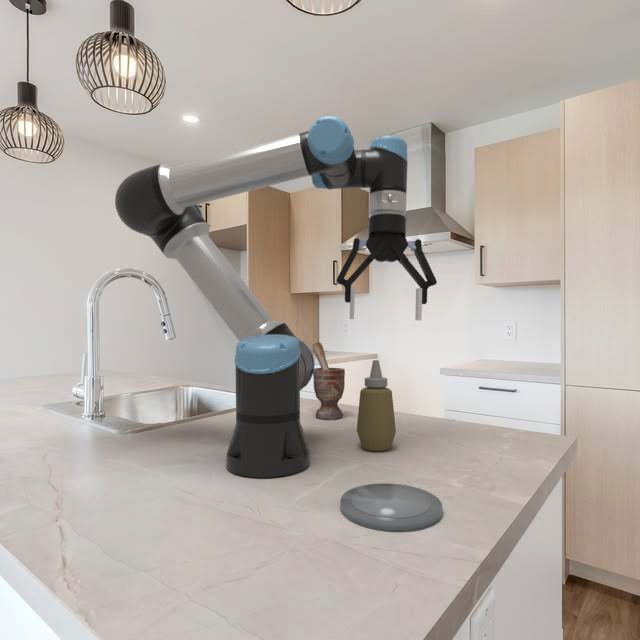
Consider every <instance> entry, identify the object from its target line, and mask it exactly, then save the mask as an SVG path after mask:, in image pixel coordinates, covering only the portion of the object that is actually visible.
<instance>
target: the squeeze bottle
mask: <svg viewBox="0 0 640 640" xmlns="http://www.w3.org/2000/svg"><path fill="white" fill-rule="evenodd" d="M380 364H381V363H380V361H379V360H375V359H374V360H372V365H371V368H370V369H371V370H370V372H369V373H370V374H369V376H368V377H364V387H363V388H362V389H360V391H359V399H358V401H359V403H358V411H357V412H358V414H357V425H356V433H357V437H358V439H359V442H360V445H361V447H362V449H364V450H366V451H371V452H385V451H389V450H390V449H391V448H392V445H393V441H394V439H395V435H396V433H397V428H396V420H395V418H396V417H395V409H394V398H393V391H392V389H390V388H388V377H383V373H382V370H381V365H380Z"/></svg>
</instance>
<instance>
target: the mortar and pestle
mask: <svg viewBox="0 0 640 640" xmlns="http://www.w3.org/2000/svg"><path fill="white" fill-rule="evenodd" d="M312 350H313V352H314V356H315V357H316V359H317V362H318V363H319V366H320V367H314V372H313V375H312V377H313V378H312V379H313V391H314V395H315V397H316V399H317V400H318V401H319V402H320V407H319V408H318V409H317V410H316V412H315V418H317V419H321V420H330V421H335V420H337V419H341V418H342V417H344V415H343V412H342V410H341V408H340V407H339V406H338V403H339V401H340V400H341V399H342V398H343V395H344V391H345V387H346V386H345V385H346V384H345V377H346V376H345V373H346V370H345V368H341V367H329V365H328V362H327V358H326V354H325V350H324V347H323V344H322V343H321V342H315V343H313V344H312ZM334 419H335V420H334Z"/></svg>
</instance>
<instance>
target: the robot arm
mask: <svg viewBox="0 0 640 640" xmlns="http://www.w3.org/2000/svg"><path fill="white" fill-rule="evenodd" d="M309 176H311V181H312V185H313V186H314V188H316V189H320V190H321V189H323V190H324V189H325V190H330V191H331V190H338V189H339V190H341V189H368V188H369V202H368V204H369V205H368V214H369V215H370V217H369V218H368V236H367V237H368V238H367V240H363V239H359V237H355V238H354V239H353V241H352V250H351V251H350V253H349V255H348V257H347V259H346V261H345V262H344V264H343V266H342V267H341V268H342V269H341V270H340V272H339V274H338V276H337V277H336V283H337V284H339V285H341V286H343V287H344V302H345V303H348V304H349V319H350V320H354V319H355V292H356V291H355V289H356V288H355V286H352V285H353V284H354V283H355V281H357V279H358V278H359V277H360V276H361V274H363V272H365V271H366V269H367V268H368V267H369V266H370V264H371V263H373V261H376V262H378V263H382V262H388V263H394V262H396V261H398V263H399V264H400V265H401V266H402V267H403V268H404V269H405V271H406V272H407V273H408V274H409V276H410V277H411V278H412V279H413V281H414V282H415V283H416V284H417V285H418V286H419V287H418V288H415V321H422V320H423V319H422V316H423V315H422V313H423V311H422V310H423V307H422V306H423V305H427V303H428V288H430V287H433V286H436V285H437V283H438V282H437V279H436V276H435V275H434V272H433V270H432V268H431V266H430V263H429V262H428V259H427V258H426V256H425V253H424V251H423V246H422V245H423V243H422V240H421V239H420V238H417V239H416V240H407V238H406V235H407V234H406V232H407V217H406V216H405V215H406V214H407V189H408V184H407V183H408V182H407V181H408V144H407V142H406V141H405V140H404V138H402V137H400V136H396V135H383V136H377V137H376V138H374V139H373V140H372V141H371V142H370V147H369V148H368V149H358V150H357V149H356V150H355V140H354V137H353V135H352V132H351V130H350V128H349V126H348V124H347V123H346V122H345V120H343V119H342V118H341V117H338V116H335V115H325V116H321V117H320V118H318V119H317V120H315V122H314V123H312V125H311V126H310V128H309V129H308V130H307V131H304V132H300V133H296V134H292V135H289V136H285V137H280V138H278V139H273V140H270V141H266V142H263V143H259V144H255V145H252V146H251V145H250V146H248V147H243V148H241V149H237V150H232V151H229V152H224V153H222V154H217V155H213V156H210V157H207V158H203V159H198V160H196V161H191V162H187V163H184V164H180V165H176V166H170V165H169V164H167V163H161V164H157V165H153V166H149V167H146V168H144V169H140V170H138V171H136V172H134V173H131V174H130V175H128V176H127V177H125V179H123V181H122V182H121V183H119V186H118V187H117V190H116V193H115V199H114V201H115V203H114V205H115V209H116V212H117V216H118V217H119V219H120V220H121V221H122V222H123V223H124V225H125V226H126V227H127V228H129V229H130V230H132V231H134V232H136V233H139V234H141V235H144V236H147V237H149V238H150V239H152V241H153V242H154V243H155V245H156V246H157V248H158V249H159V250H160V251H161V252H162V254H163V255H164V257H166V258H167V259H173V260H176V261H177V262H178V263H179V265H180V266H181V267H182V269H183V270H184V271H185V272H186V273H187V275H188V276H189V278H190V279H191V280H192V281H193V282H194V284H195V286H196V287H197V288H198V289H199V291H201V293H202V295H204V297H205V298H206V300H207V301H208V302H209V304H210V305H211V306H212V307H213V309H214V310H215V311H216V313H217V314H218V315H219V316H220V318H221V319H222V320H223V322H224V323H225V325H226V326H227V327H228V328H229V330H230V331H231V332H232V333H233V335H234V336H235V337H236V339H237V340H238V342H237V344H236V348H235V356H234V364H235V425H234V430H233V433H232V434H231V435H232V436H231V439H230V441H229V445H228V448H227V451H226V461H225V462H226V464H225V465H226V469H227V470H228V471H229V472H231V473H233V474H235V475H238V476H242V477H246V478H247V477H248V478H277V477H284V476H285V477H286V476H289V475H290V476H291V475H293V474H297V473H300V472H302V471H304V470H306V469H307V468H308V467H309V466H310V463H311V462H310V461H311V460H310V459H311V457H310V454H311V453H310V448H309V445H308V441H307V439H306V435H305V433H304V430H303V426H302V424H301V401H300V399H301V391H302V390H303V389H304V388H305V387H306V386H307V385H308V384H309V382H310V381H311V379H313V378H312V377H313V372H314V369H315V357H314V354H313V352H312V349H311V348H310V347H309V346H308V344H307V343H305V342H304V341H302V340H301V339H299V338H298V337H297V336H296V335H295V334H294V333H293V331H292V330H291V329H290V327H289V326H288V324H286V322H285V321H281V320H275V319H273V317H272V316H271V315H270V313H269V312H268V310H266V308H265V307H264V306H263V304H262V303H261V302H260V300H259V299H258V298H257V297H256V295H255V294H254V293H253V291H252V290H251V289H250V288H249V286H248V285H247V284H246V282H245V281H244V279H242V277H241V276H240V275H239V273H238V272H237V271H236V270H235V268H234V267H233V265H232V264H231V263H230V262H229V260H228V259H227V258H226V257H225V256H224V254H223V253H222V252H221V250H220V249H219V248H218V247H217V246H216V244H215V243H214V241H213V240H212V239H211V238H210V237H211V236H210V231H211V229H210V225H209V224H208V223H207V221H206V220H205V218H204V216H203V213H202V210H201V208H200V206H199V205H200V204H204V203H205V204H206V203H207V202H208V203H209V202H212V201H215V200H220V199H224V198H227V197H232V196H236V195H239V194H243V193H244V194H245V193H246V192H248V193H249V192H251V191H255V190H259V189H261V188H266V187H270V186H271V187H272V186H275V185H277V184H281V183H286V182H289V181H294V180H297V179H301V178H304V177H309ZM364 247H366V249H367V250H368V252H369V255H367V257H366V258H365V260H363V262H362V263H361V264H360V265H359V266H358V267H357V269H355V271H354V272H353V273H352V274H351V275H350V276H349V278H347V279H345V277H346V275H347V273H348V271H349V270H350V268H351V266H352V265H353V262H354V261H355V259H356V257H357V255H358V252H359V251H362V249H363V248H364ZM407 248H409V249H410V251H411V252H413V253H414V256H415V257H416V260H417V262H418V265H419V267H420V269H421V271H422V272H423V274H424V276H425V277H423V275H421V274H420V272H419V271H418V269H416V268H415V266H414V265H413V264H412V262H411V261H410V260H409V258H408V256H406V253H404V252H405V251H406V249H407ZM425 279H426V280H425Z"/></svg>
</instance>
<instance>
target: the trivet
mask: <svg viewBox="0 0 640 640" xmlns="http://www.w3.org/2000/svg"><path fill="white" fill-rule="evenodd" d="M339 501H340V511H341V512H340V513H341V514H342V515H343V516H344V517H345V518H346V519H347V520H349V522H352V523H354V524H356V525H359V526H361V527H364V528H367V529H372V530H376V531H383V532H393V533H395V532H397V533H398V532H399V533H401V532H413V531H419V530H423V529H428V528H429V527H432V526H433V525H435V524H437V523H438V522H440V520H441V518H442V517H443V504H442V502H441V500H440V499H439V498H438V496H436V495H435V494H433V493H431V492H430V491H427V490H425V489H422V488H419V487H415V486H411V485H406V484H401V483H389V482H388V483H387V482H386V483H371V484H364V485H359V486H356V487H352V488H350V489H348V490H347V491H345V492H344V493H343V494H342V495H341V497H340V500H339Z"/></svg>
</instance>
